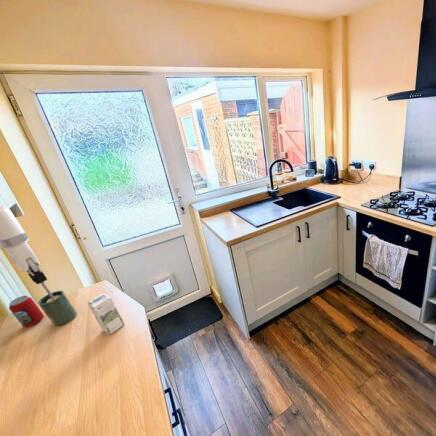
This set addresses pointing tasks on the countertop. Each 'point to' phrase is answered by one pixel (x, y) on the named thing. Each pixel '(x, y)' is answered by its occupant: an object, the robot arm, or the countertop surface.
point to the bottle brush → (49, 293)
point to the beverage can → (26, 311)
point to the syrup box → (106, 313)
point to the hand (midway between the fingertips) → (40, 280)
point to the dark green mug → (58, 309)
